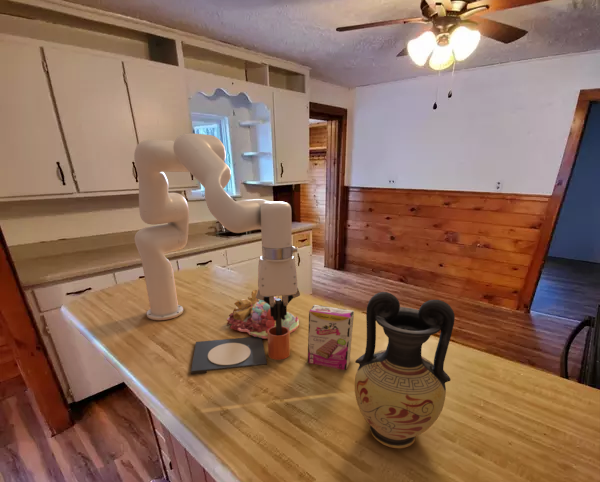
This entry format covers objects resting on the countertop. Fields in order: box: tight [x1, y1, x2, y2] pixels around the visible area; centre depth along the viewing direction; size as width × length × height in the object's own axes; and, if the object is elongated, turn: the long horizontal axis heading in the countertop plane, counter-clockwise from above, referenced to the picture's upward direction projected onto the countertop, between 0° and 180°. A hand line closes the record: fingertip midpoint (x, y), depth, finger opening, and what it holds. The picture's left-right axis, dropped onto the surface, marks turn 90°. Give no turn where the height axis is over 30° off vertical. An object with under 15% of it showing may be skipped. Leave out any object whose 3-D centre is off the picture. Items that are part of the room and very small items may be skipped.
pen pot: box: [267, 326, 291, 361], centre depth 96 cm, size 6×6×8 cm
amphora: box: [354, 291, 456, 449], centre depth 64 cm, size 18×17×30 cm
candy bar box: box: [307, 304, 355, 371], centre depth 90 cm, size 11×5×16 cm, turn 71°
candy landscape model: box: [226, 289, 299, 340], centre depth 115 cm, size 25×24×9 cm
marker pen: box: [275, 297, 282, 336], centre depth 93 cm, size 2×2×13 cm
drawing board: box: [190, 336, 268, 375], centre depth 97 cm, size 16×20×1 cm
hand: (278, 317), depth 93 cm, fingers closed on marker pen, 1 cm apart
